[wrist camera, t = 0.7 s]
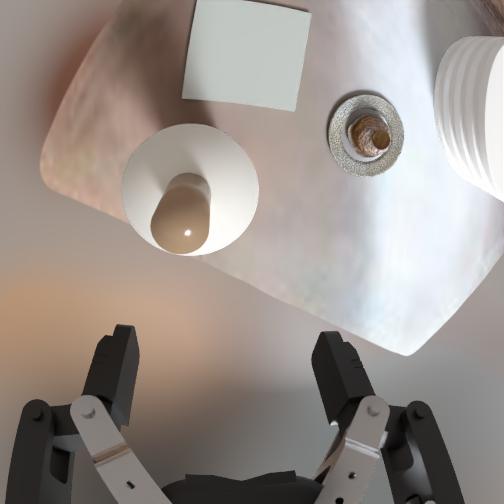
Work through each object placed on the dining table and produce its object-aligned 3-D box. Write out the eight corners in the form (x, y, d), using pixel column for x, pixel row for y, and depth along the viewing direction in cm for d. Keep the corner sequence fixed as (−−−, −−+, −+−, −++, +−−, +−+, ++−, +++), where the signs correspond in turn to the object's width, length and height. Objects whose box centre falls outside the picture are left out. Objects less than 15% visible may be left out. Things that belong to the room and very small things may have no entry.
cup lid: (126, 120, 20) (91, 134, 14) (267, 131, 22) (286, 147, 16) (126, 245, 25) (103, 292, 19) (247, 254, 27) (256, 304, 21)
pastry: (406, 160, 40) (423, 169, 36) (339, 186, 41) (352, 197, 37) (388, 85, 34) (405, 87, 30) (313, 108, 35) (325, 110, 31)
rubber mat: (198, -3, 26) (198, -4, 25) (310, 14, 28) (311, 13, 27) (182, 98, 33) (181, 98, 32) (293, 111, 35) (294, 112, 34)
